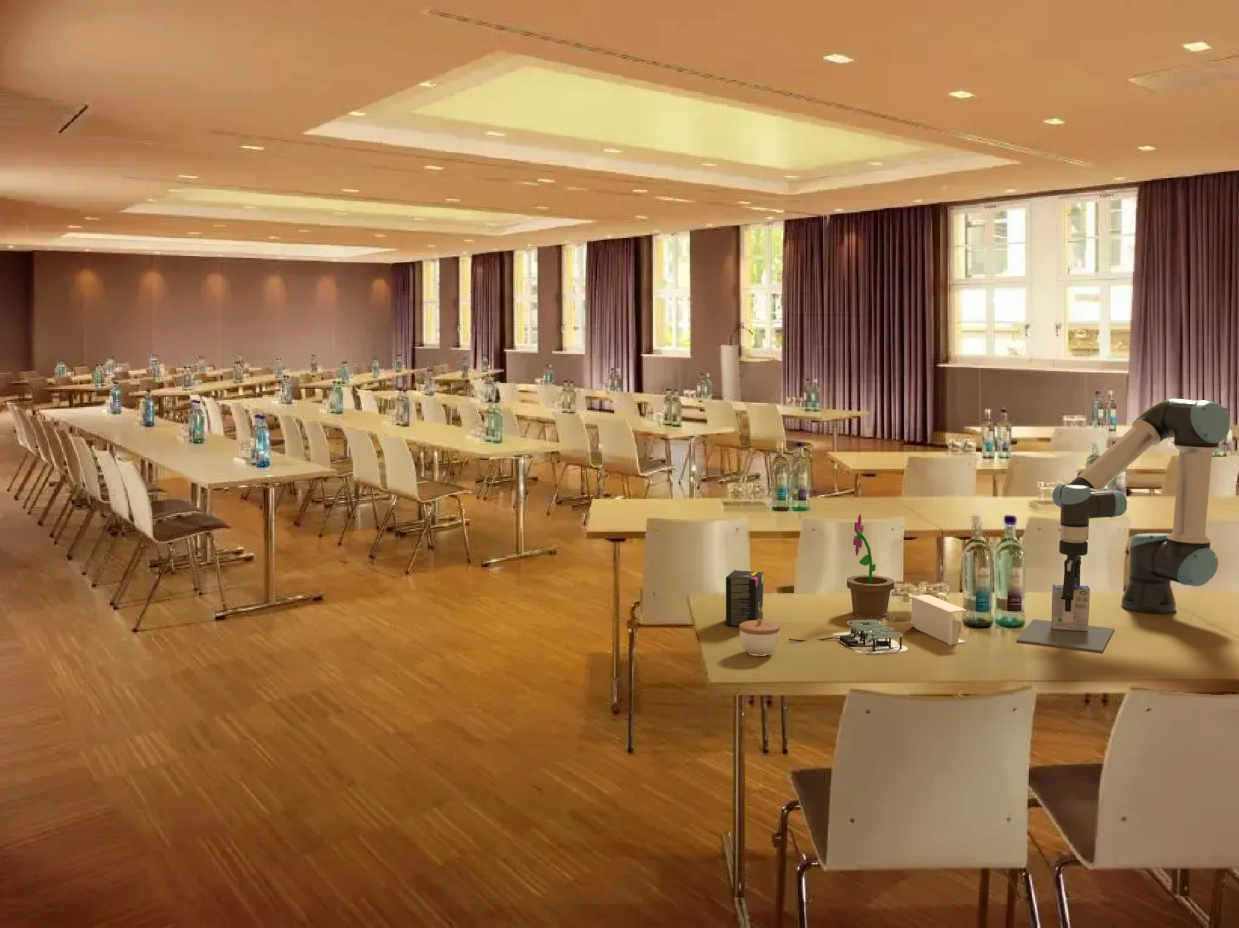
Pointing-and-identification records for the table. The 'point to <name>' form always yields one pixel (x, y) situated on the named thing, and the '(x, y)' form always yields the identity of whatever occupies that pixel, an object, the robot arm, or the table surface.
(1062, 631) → the mat
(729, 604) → the tampon box
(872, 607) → the flowerpot
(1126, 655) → the table surface
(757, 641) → the lidded jar
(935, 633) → the cigarette display
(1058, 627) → the ink cartridge box
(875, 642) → the neon sign
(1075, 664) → the table surface
